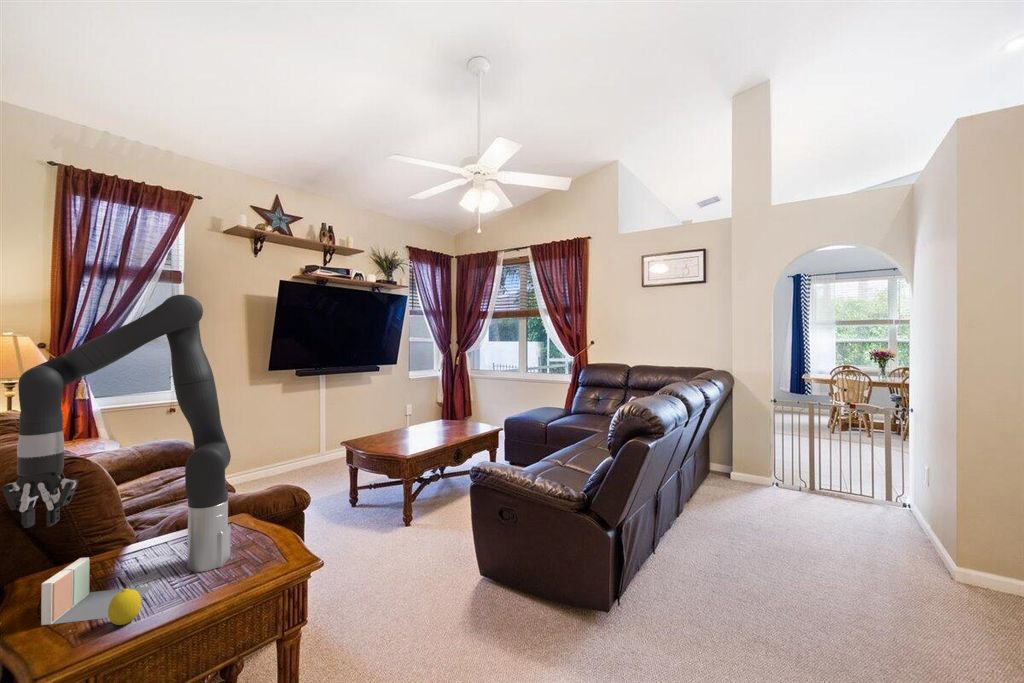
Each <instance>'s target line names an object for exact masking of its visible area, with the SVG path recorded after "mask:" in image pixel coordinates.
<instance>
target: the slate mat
mask: <svg viewBox="0 0 1024 683" xmlns="http://www.w3.org/2000/svg"><path fill="white" fill-rule="evenodd" d="M153 587H154V586H153V585H149V586H148V585H147V586H138V587H129V588H128V587H127V588H126V589H133V590H136V591H137V592H138V593H139V594H140V597H141V599H142V598H143V597H144V596H145V595H146V594H147V593H148V592H150V590H151V589H152V588H153ZM123 589H124V588H119V589H109V590H108V589H107V590H98V591H89V594H88V595H87V596H86V597H85V598H83V599H82V600H81V601H80V602H78V603H77V604H76V605H75V606H73V607H72V608H70V610H68V611H67V612H66V613H65V614H63V615H62V616H61V617H60V618H58V619H57V620H56V621H55V622H53V623H52V624H48V625H57V624H59V625H60V624H67V623H68V624H69V623H74V622H86V621H93V620H94V621H95V620H102V619H103V620H104V619H109V617H108V608H109V604H110V602H111V600H112V599H113V597H114V596H115V595H116V594H118V593H119V592H121V591H123Z"/></svg>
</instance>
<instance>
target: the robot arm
mask: <svg viewBox="0 0 1024 683" xmlns="http://www.w3.org/2000/svg"><path fill="white" fill-rule="evenodd" d="M203 313H204V309H203V306H202V304H201V302H200V301H199V299H197V298H195V297H194V296H191V295H188V294H174V295H172V296H168V298H166V299H165V300H164V301H163V302H162V303H161V304H159V305H158V306H156V307H155V308H153V309H152V310H151V311H149V312H147V313H146V314H144V315H142V316H141V317H139V318H137V319H135V320H133V321H131V322H129V323H127V324H124V325H122V326H120V327H117V328H115V329H113V330H110V331H108V332H105V333H104V334H101V335H99V336H96V337H94V338H92V339H90V340H89V341H85V342H84V343H82V344H79V345H77V346H75V347H73V348H72V349H70V350H68V351H66V352H65V353H63V354H61V355H59V356H56V357H54V358H52V359H49V360H47V361H45V362H42V363H40V364H38V365H35V366H33V367H31V368H29V369H27V370H26V371H24V372H23V373H22V374H21V376H20V377H19V380H18V401H19V409H20V411H19V412H20V413H19V419H18V440H17V444H16V454H17V455H16V474H17V476H18V478H17V479H16V481H15V482H11V483H7V484H4V485H2V486H1V488H0V489H1V492H2V494H3V496H4V499H5V500H6V503H7V505H8V507H9V509H10V510H11V511H14V510H17V511H19V512H20V513H21V525H22V526H23V528H24V529H27V528H31V527H33V526H35V525H36V508H34V507H35V505H36V502H37V499H38V498H39V497H41V498H42V501H43V502H44V503H45V506H46V508H47V510H46V526H47V527H52V526H53V525H57V523H58V522H59V521H60V518H61V516H60V514H61V507H63V506H65V505H68V504H70V503H71V501H72V499H73V496H74V495H75V492H76V489H77V487H78V484H79V482H80V481H79V479H77V478H75V479H69V478H66V476H65V474H64V473H63V472H64V468H65V437H64V417H63V415H64V414H63V410H62V402H63V400H62V399H63V388H64V387H66V386H67V385H69V384H72V383H73V382H75V381H77V380H79V379H81V378H82V377H84V376H89V375H91V374H94V373H95V372H98V371H100V370H102V369H104V368H106V367H108V366H109V365H112V364H113V363H115V362H118V361H119V360H121V359H123V358H124V357H126V356H128V355H129V354H132V353H133V352H135V351H136V350H138V349H139V348H141V347H142V346H144V345H146V344H148V343H149V342H152V341H154V340H156V339H158V338H160V337H163V336H166V338H167V342H168V345H169V350H170V359H171V360H170V362H171V372H172V373H171V374H172V380H173V387H174V392H175V397H176V401H177V403H178V407H179V409H180V411H181V412H182V414H183V416H184V417H185V419H186V421H187V423H188V425H189V427H190V430H191V434H192V440H193V449H194V451H193V452H192V453H191V454H189V456H188V458H187V459H186V461H185V467H184V468H185V469H184V475H185V476H184V481H185V482H184V483H185V484H184V486H185V487H184V488H185V496H186V497H185V498H186V499H187V559H186V560H187V561H186V562H187V569H188V570H190V571H191V572H193V573H200V572H207V571H211V570H214V569H217V568H218V569H219V568H222V567H223V566H224V565H225V564H226V563H227V561H229V559H230V558H231V524H230V523H228V522H229V521H228V520H229V519H228V514H229V511H228V510H229V491H228V489H227V488H226V469H227V468H228V467H229V464H230V462H231V458H232V457H231V456H232V455H231V451H230V450H231V449H230V447H229V444H228V441H227V438H226V435H225V432H224V429H223V425H222V421H221V413H220V412H221V411H220V405H219V398H218V392H217V386H216V382H215V377H214V373H213V370H212V366H211V364H210V362H209V359H208V356H207V354H206V352H205V350H204V347H203V344H202V340H201V332H200V330H201V329H200V321H201V319H202V317H203V315H204V314H203ZM60 486H61V492H60ZM20 490H21V491H20ZM21 492H22V493H21Z"/></svg>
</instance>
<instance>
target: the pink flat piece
mask: <svg viewBox="0 0 1024 683" xmlns="http://www.w3.org/2000/svg"><path fill="white" fill-rule="evenodd" d="M40 601H41V604H40V605H41V607H40V608H41V610H40V611H41V612H40V614H41V616H40V618H41V620H40V626H47V625H48V624H50V625H53V624H52V623H53V622H55V621H56V620H57V619H58V618H60V617H61V616H62V615H63V614H65V613H66V612H67V611H68V610H70V608H71V570H63V569H62V570H60V571H59V572H57V573H56V574H54V575H52V576H51V577H50V578H48V579H46V580H45V581H44V582H42V583H41V600H40Z"/></svg>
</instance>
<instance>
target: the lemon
mask: <svg viewBox="0 0 1024 683" xmlns="http://www.w3.org/2000/svg"><path fill="white" fill-rule="evenodd" d="M122 589H123V591H121V592H119V593H118V594H116V595H115V596H114V597H113V599H112V600H111V602H110V604H109V608H108V617H109V618H108V620H109V621H110V622H111V623H112V624H114V625H116V626H117V625H118V626H122V625H123V626H125V625H127V624H129V623H131V622H132V621H133V620H134V619H136V618H137V616H138V615H139V613H140V611H141V608H142V598H141V597H140V594H139V593H138V592H137V591H136V590H133V589H127V588H122Z"/></svg>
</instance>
